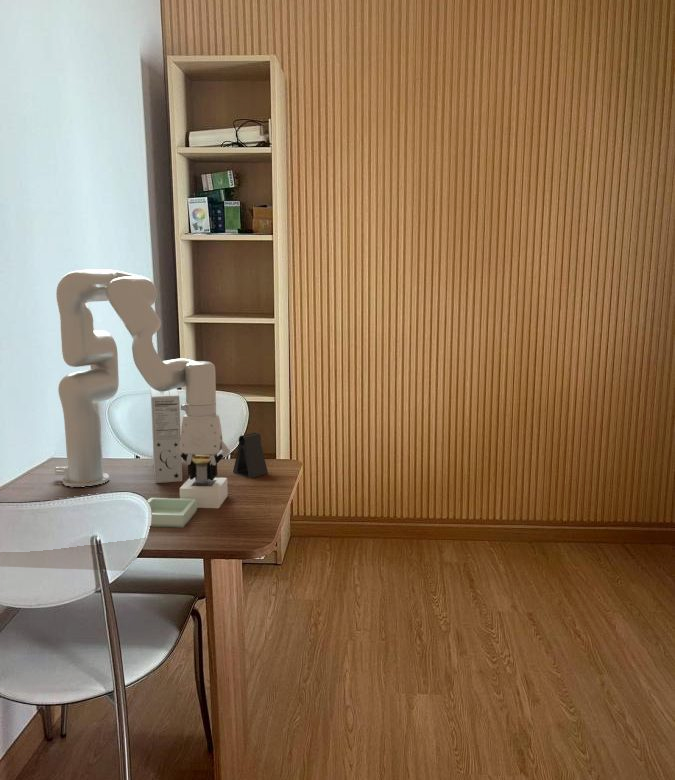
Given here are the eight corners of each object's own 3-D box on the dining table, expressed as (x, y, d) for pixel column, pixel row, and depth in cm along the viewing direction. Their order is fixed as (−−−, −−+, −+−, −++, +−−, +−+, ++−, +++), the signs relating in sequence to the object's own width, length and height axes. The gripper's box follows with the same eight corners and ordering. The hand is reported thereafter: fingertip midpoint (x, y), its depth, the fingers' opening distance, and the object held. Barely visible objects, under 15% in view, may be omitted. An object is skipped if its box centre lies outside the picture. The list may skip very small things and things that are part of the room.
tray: (134, 526, 172) (133, 513, 171) (150, 509, 184) (150, 497, 183) (183, 527, 171) (183, 515, 170) (197, 510, 183) (196, 499, 182)
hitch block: (180, 507, 185) (179, 488, 184) (191, 494, 195) (190, 476, 194) (218, 508, 184) (218, 489, 183) (227, 495, 194) (227, 477, 193)
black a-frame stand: (232, 472, 215) (231, 433, 213) (248, 468, 220) (247, 430, 218) (252, 478, 209) (251, 438, 207) (268, 474, 214) (267, 435, 211)
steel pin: (189, 500, 187) (188, 458, 185) (195, 493, 192) (194, 452, 190) (211, 501, 186) (210, 459, 184) (216, 494, 192) (215, 453, 190)
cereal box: (153, 463, 225) (150, 384, 221) (178, 461, 227) (175, 383, 223) (155, 483, 205) (151, 396, 200) (182, 481, 207) (179, 395, 202)
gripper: (164, 412, 182) (166, 481, 185) (230, 413, 181) (231, 483, 184) (173, 406, 190) (175, 473, 193) (237, 407, 188) (238, 475, 192)
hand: (202, 477), depth 188 cm, fingers closed on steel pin, 4 cm apart
